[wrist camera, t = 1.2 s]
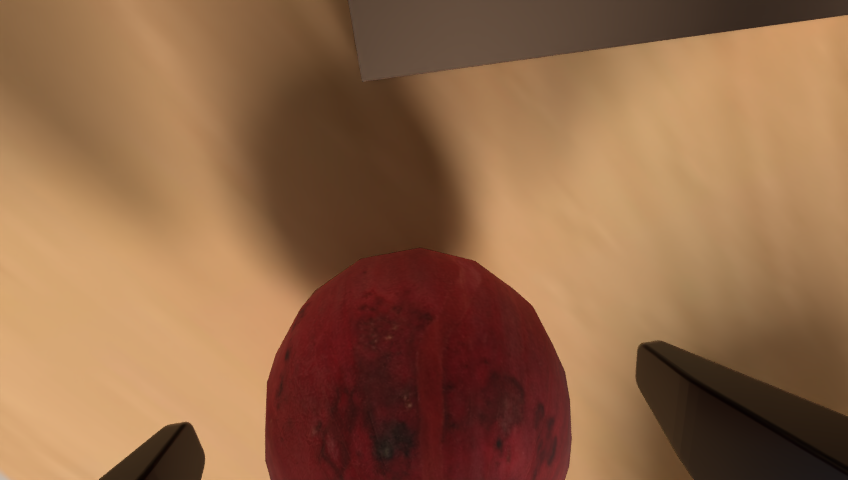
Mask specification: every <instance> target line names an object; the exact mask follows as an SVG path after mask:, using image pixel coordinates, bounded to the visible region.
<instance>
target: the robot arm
mask: <svg viewBox="0 0 848 480" xmlns="http://www.w3.org/2000/svg"><path fill="white" fill-rule="evenodd" d="M636 382H637V385H638V387H639V389H640V391H641V393H642V395H643V396H644V398H645V400H646V402H647V403H648V405H649V407H650V409H651V410H652V412H653V414H654V416H655V418H656V419H657V421H658V423H659V425H660V426H661V428H662V430H663V432H664V433H665V435H666V437H667V439H668V440H669V442H670V444H671V446H672V447H673V449H674V451H675V452H676V454H677V456H678V457H679V459H680V460H681V462H682V463H683V465H684V466H685V468H686V469H687V471H688V472H689V474H690V475H691V476H692V478H693V479H694V480H848V416H845V415H843V414H840V413H838V412H836V411H833V410H831V409H828V408H826V407H823V406H821V405H818V404H816V403H813V402H811V401H808V400H806V399H804V398H801V397H799V396H796V395H794V394H791V393H789V392H786V391H784V390H781V389H779V388H776V387H774V386H772V385H769V384H767V383H764V382H762V381H759V380H757V379H754V378H752V377H749V376H747V375H744V374H742V373H740V372H737V371H735V370H732V369H730V368H727V367H725V366H722V365H720V364H717V363H715V362H712V361H710V360H707V359H705V358H703V357H700V356H698V355H695V354H693V353H690V352H688V351H685V350H683V349H680V348H678V347H675V346H673V345H671V344H668V343H666V342H663V341H651V342H645V343H642V344H640V345H639V346H638V349H637V361H636ZM204 465H205V454H204V451H203V448H202V446H201V444H200V441H199V439H198V437H197V434H196V432H195V430H194V428H193V426H192V425H191V424H190V423H189V422H182V423H176V424H170V425H167V426H165V427H163V428H162V429H161V430H160V431H158V432H157V433H156V434H155V435H153V436H152V437H151V438H150V439H148V440H147V441H146V442H145V443H143V444H142V445H141V446H140V447H138V448H137V449H136V450H135V451H134V452H132V453H131V454H130V455H129V456H127V457H126V458H125V459H124V460H122V461H121V462H120V463H119V464H117V465H116V466H115V467H114V468H112V469H111V470H110V471H109V472H107V473H106V474H105V475H104V476H103V477H101V478H100V479H99V480H201V478H202V473H203V469H204Z"/></svg>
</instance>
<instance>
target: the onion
mask: <svg viewBox="0 0 848 480" xmlns="http://www.w3.org/2000/svg"><path fill="white" fill-rule="evenodd" d="M571 440H572V436H571V415H570V398H569V393H568V387H567V381H566V375H565V371H564V368H563V366H562V364H561V362H560V360H559V357H558V355H557V353H556V351H555V349H554V346H553V344H552V342H551V340H550V338H549V337H548V335H547V333H546V331H545V329H544V327H543V325H542V323H541V321H540V319H539V317H538V315H537V313H536V312H535V310H534V308H533V306H532V305H531V304H530V303H529V302H527V301H526V300H525V299H524V298H523V297H522V296H521V295H520V294H518V293H517V292H516V291H515V290H514V289H513V288H511V287H510V286H509V285H507V284H506V283H504V282H503V281H502V280H500V279H499V278H498V277H496V276H495V275H494V274H492V273H491V272H489V271H488V270H487V269H485V268H484V267H483V266H481V265H480V264H479V263H477V262H476V261H473V260H469V259H465V258H461V257H457V256H453V255H449V254H444V253H440V252H436V251H432V250H428V249H424V248H415V249H410V250H405V251H399V252H394V253H389V254H384V255H378V256H373V257H368V258H362V259H360V260H358V261H357V262H355V263H354V264H353V265H351V266H350V267H348V268H347V269H345V270H344V271H343V272H341V273H340V274H338V275H337V276H335V277H334V278H333V279H331V280H330V281H328V282H327V283H325V284H324V285H323V286H321V287H320V288H318V289H317V290H316V291H315V292H314V293H313V294H312V295H311V297H310V298H309V299H308V300H307V301H306V303H305V304H304V305H303V306H302V307H301V309H300V311H299V312H298V314H297V316H296V318H295V320H294V322H293V324H292V325H291V327H290V329H289V331H288V333H287V335H286V336H285V338H284V340H283V342H282V344H281V346H280V348H279V349H278V351H277V353H276V355H275V359H274V362H273V365H272V368H271V372H270V375H269V378H268V381H267V398H266V425H265V461H266V464H267V468H268V472H269V475H270V479H271V480H565V477H566V474H567V471H568V468H569V462H570V451H571Z"/></svg>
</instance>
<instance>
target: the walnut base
mask: <svg viewBox="0 0 848 480" xmlns="http://www.w3.org/2000/svg"><path fill="white" fill-rule="evenodd" d="M348 3H349V9H350V15H351V20H352V26H353V32H354V38H355V44H356V50H357V56H358V61H359V67H360V73H361V79H362V82H364V81H372V80H379V79H386V78H393V77H401V76H408V75H415V74H422V73H430V72H437V71H444V70H451V69H459V68H466V67H473V66H480V65H488V64H495V63H502V62H509V61H517V60H524V59H531V58H538V57H546V56H553V55H560V54H567V53H575V52H582V51H589V50H596V49H604V48H611V47H618V46H625V45H633V44H640V43H647V42H654V41H662V40H669V39H676V38H683V37H691V36H698V35H705V34H712V33H720V32H727V31H734V30H741V29H748V28H756V27H763V26H770V25H777V24H785V23H792V22H799V21H806V20H814V19H821V18H828V17H835V16H843V15H848V0H348Z"/></svg>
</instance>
